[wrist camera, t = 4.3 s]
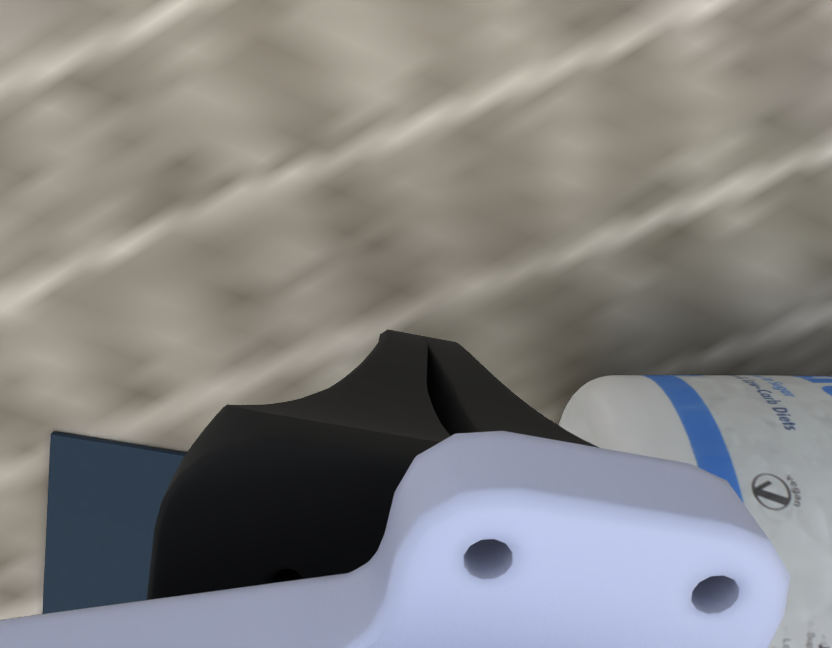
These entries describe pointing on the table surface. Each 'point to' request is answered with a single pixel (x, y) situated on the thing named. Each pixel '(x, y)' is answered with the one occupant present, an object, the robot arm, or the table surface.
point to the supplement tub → (738, 462)
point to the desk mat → (101, 520)
